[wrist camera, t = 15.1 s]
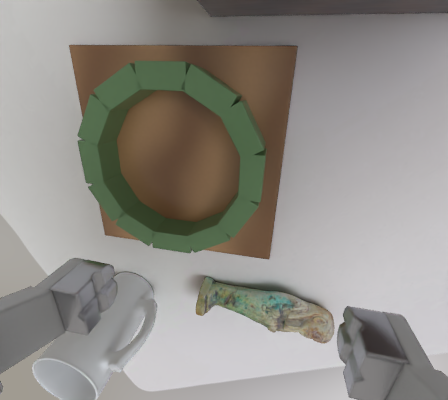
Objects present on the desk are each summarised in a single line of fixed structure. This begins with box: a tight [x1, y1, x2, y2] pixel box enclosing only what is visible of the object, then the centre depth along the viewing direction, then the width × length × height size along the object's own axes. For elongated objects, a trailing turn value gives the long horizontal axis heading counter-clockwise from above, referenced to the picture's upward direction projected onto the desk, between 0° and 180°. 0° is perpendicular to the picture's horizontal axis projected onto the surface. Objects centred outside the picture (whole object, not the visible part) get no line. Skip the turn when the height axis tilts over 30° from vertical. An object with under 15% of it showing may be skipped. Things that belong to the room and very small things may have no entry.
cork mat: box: [69, 45, 297, 259], centre depth 24 cm, size 20×20×1 cm
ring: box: [78, 61, 267, 253], centre depth 23 cm, size 17×17×3 cm
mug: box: [32, 272, 157, 400], centre depth 27 cm, size 10×7×12 cm, turn 109°
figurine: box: [196, 277, 334, 343], centre depth 27 cm, size 6×15×4 cm, turn 76°
